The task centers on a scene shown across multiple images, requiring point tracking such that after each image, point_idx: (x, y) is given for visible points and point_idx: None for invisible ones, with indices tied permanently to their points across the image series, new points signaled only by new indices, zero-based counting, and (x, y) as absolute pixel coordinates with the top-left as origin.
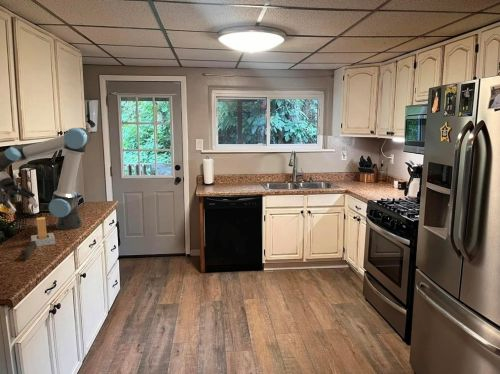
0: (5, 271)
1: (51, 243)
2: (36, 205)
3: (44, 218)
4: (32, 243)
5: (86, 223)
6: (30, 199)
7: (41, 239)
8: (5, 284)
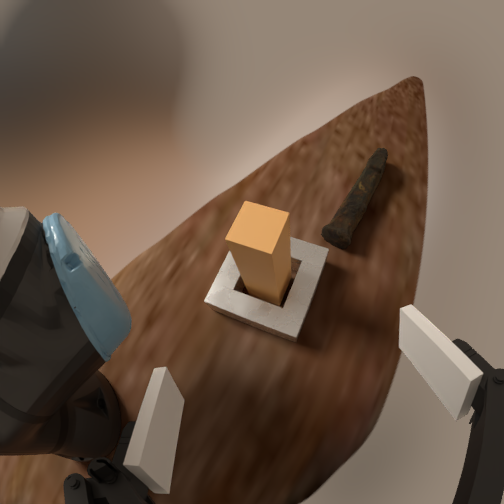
0: (426, 141)
1: None
2: (168, 374)
3: (244, 210)
4: (337, 222)
5: None
6: (156, 465)
7: (292, 239)
8: (424, 101)
